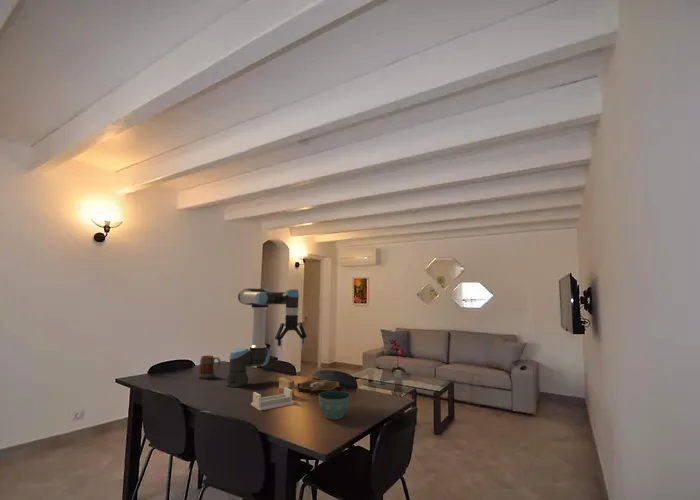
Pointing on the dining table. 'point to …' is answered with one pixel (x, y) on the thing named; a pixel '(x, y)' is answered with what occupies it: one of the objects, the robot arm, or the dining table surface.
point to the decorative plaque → (318, 386)
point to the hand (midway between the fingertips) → (290, 350)
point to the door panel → (286, 385)
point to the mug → (208, 367)
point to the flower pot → (334, 403)
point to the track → (272, 400)
